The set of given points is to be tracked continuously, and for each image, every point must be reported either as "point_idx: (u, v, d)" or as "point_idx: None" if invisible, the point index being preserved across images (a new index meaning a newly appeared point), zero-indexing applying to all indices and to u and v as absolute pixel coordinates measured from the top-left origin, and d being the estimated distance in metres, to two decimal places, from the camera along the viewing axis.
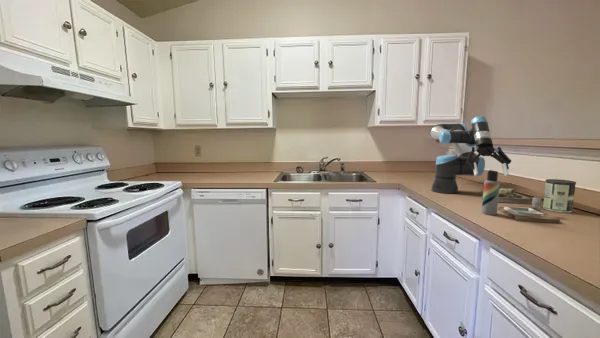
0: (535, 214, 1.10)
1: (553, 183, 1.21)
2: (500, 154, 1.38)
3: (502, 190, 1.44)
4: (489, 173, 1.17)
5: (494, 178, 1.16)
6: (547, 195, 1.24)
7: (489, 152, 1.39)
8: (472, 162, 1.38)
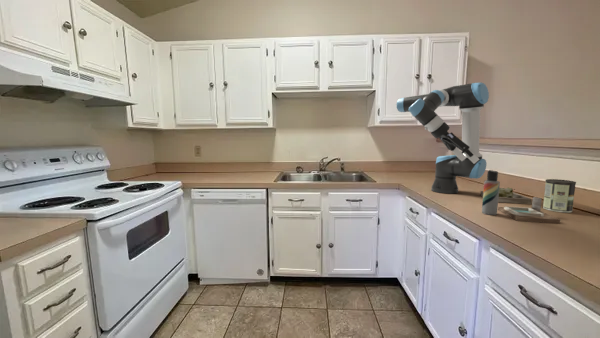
0: (535, 214, 1.10)
1: (553, 183, 1.21)
2: None
3: (501, 190, 1.44)
4: (489, 173, 1.17)
5: (494, 178, 1.16)
6: (547, 195, 1.24)
7: (448, 141, 1.19)
8: (451, 150, 1.28)
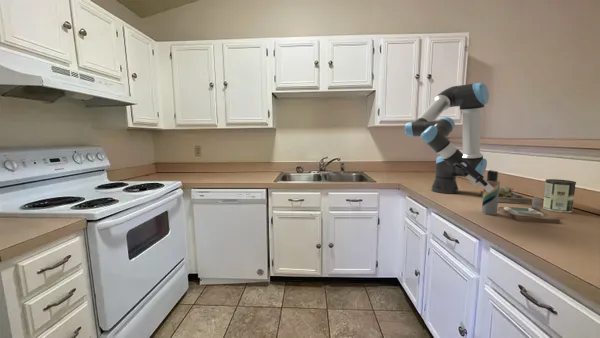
0: (535, 214, 1.10)
1: (553, 183, 1.21)
2: None
3: (500, 189, 1.45)
4: (489, 173, 1.17)
5: (494, 178, 1.16)
6: (547, 195, 1.24)
7: None
8: (465, 176, 1.26)
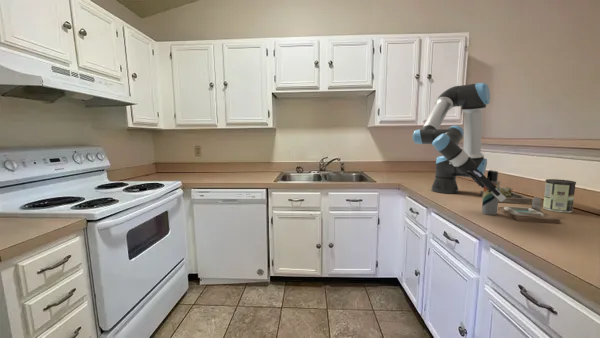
0: (535, 214, 1.10)
1: (553, 183, 1.21)
2: None
3: (500, 189, 1.45)
4: (489, 173, 1.17)
5: (494, 178, 1.16)
6: (547, 195, 1.24)
7: None
8: (482, 187, 1.22)
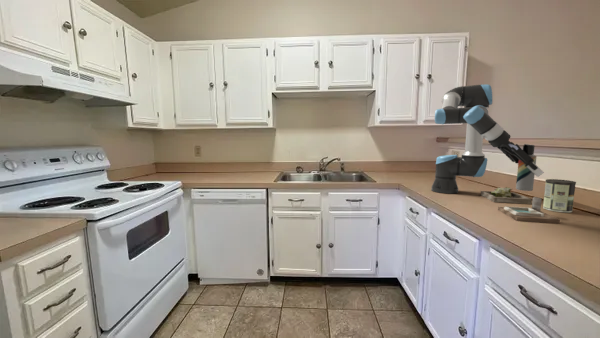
0: (535, 214, 1.10)
1: (553, 183, 1.21)
2: None
3: (500, 189, 1.45)
4: (525, 147, 1.11)
5: (531, 152, 1.10)
6: (547, 195, 1.24)
7: None
8: None
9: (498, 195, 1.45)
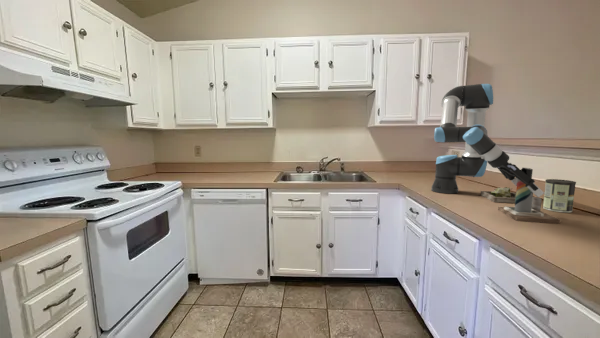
0: (535, 214, 1.10)
1: (553, 183, 1.21)
2: None
3: (500, 189, 1.45)
4: (523, 170, 1.13)
5: (529, 176, 1.12)
6: (547, 195, 1.24)
7: None
8: (510, 180, 1.21)
9: (498, 195, 1.45)
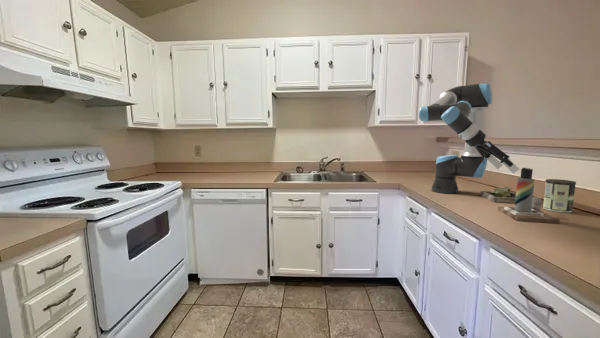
0: (535, 214, 1.10)
1: (553, 183, 1.21)
2: None
3: (500, 189, 1.45)
4: (523, 171, 1.13)
5: (529, 176, 1.12)
6: (547, 195, 1.24)
7: None
8: (486, 158, 1.23)
9: (498, 195, 1.45)
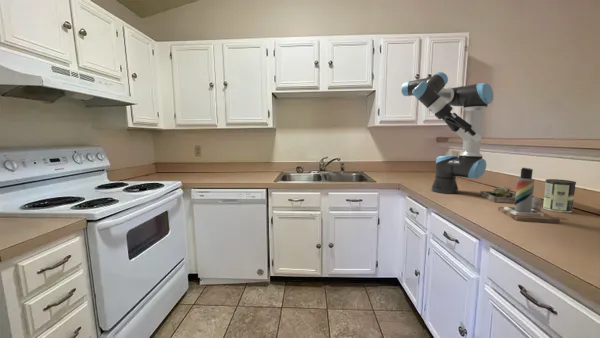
0: (535, 214, 1.10)
1: (553, 183, 1.21)
2: None
3: (499, 189, 1.45)
4: (523, 171, 1.13)
5: (529, 176, 1.12)
6: (547, 195, 1.24)
7: None
8: (455, 131, 1.31)
9: (498, 195, 1.45)
